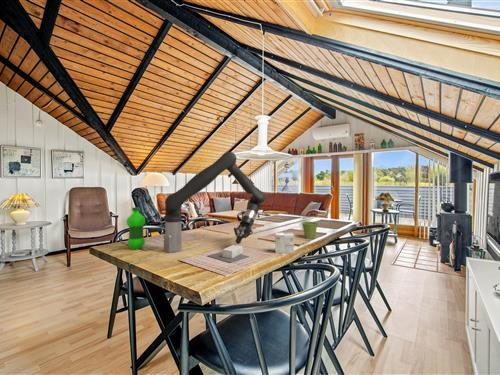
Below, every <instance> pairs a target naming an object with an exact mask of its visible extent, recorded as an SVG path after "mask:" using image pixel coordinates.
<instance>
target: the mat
mask: <svg viewBox="0 0 500 375" xmlns="http://www.w3.org/2000/svg"><path fill="white" fill-rule="evenodd" d="M207 257H208V258H212V259H214V260H218V261H222V262H226V263H229V264H231V263H234V262H238V261H240V260H244V259H247V258H249V257H250V256H249V255H245V254H243V253H241V254H240V255H238V256H236V257H234V258H224V257H223V250H222V251H220V252H215V253H211V254H209V255H208V254H207Z"/></svg>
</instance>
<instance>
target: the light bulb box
mask: <svg viewBox="0 0 500 375" xmlns="http://www.w3.org/2000/svg"><path fill="white" fill-rule="evenodd" d="M274 237H275V248H274V249H275V254H293V255H294V254H295V235H294V232H275V235H274Z"/></svg>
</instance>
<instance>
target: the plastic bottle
mask: <svg viewBox="0 0 500 375" xmlns="http://www.w3.org/2000/svg"><path fill="white" fill-rule="evenodd" d="M131 209H132V212H133V213H132V214H130V216H128V217H127V219H126V225H127V226H128V240H127V246H128V248H130V249H131V250H140V249H141V248H142V247H144V245H145V243H146V239H145V237H144V225H145V224H146V217H145V216H143V215H142V213H140V211H141V207H140V206H138V207H137V206H136V207H132V208H131Z"/></svg>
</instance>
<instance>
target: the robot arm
mask: <svg viewBox="0 0 500 375" xmlns="http://www.w3.org/2000/svg"><path fill="white" fill-rule="evenodd" d="M224 171H228V173H230V174H231V176H233V177H234V179H235V180H236V181H237V182H238V184H239V185H240V187H241V188H242V189H243V191H244V192H245V193H246V194H247V195H252V196H251V197H250V198H249V201H248V206H247V208H246V209H245V212H244V214H243V215H242V217H241V220H240V222H239V225H238V226H237V227H233V231H234V235H235V237H236V238H235V240H234V241H235V243H236V245H240V244H241V242H242V240H243V239H247V238H248V237H249V236H251V235H252V234H253V233H254V231H253V230H252V228H253V226H254V223H255V221H256V218H257V215H258V214H259V209H260V208H259V205H261V204H263V203H265V201H266V195H265V193H264V192H263V191H262V190H260V189H259V188H258V187H257V186H256V185H255V184H254V183H253V182H252V181H251V179H250V178H249V177H248V176H247V175H246V174H245V172H243V171H242V170H241V169H240V167H239V166H238V165H237V156H236V153H234V152H232V151H226V152H224V153H223V154H222V155H221V156H220V157H219V158H218V159H217V160H216V161H215V162H214V163H212V164H211V165H209V166H207V167H206V168H205V167H204V169H202V170H200V171H199V172H198V173H197V174H195V175H194V176H193V177H192V178H191V179H190V180H189V181H187V183H185V185H183V186H182V187H181V188H180V189H179V190H177V191H175V192H174V193H171V194H169V195H167V197H166V198H165V201H164V208H165V209H164V210H165V212H164V213H165V214H164V224H165V225H164V234H163V251H164V252H167V253H176V252H180V251H182V206H183V205H184V204H185V203H186V202H187V200H189V199H190V198H192V197H193V196H195V195H196V194H198V193H199V192H201V191H202V190H203V189H205V188H206V187H208V186H209V185H210V184H211V183H212V182H213V181H214V180H216V179H217V177H219V175H221V174H222V173H223V172H224Z"/></svg>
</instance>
